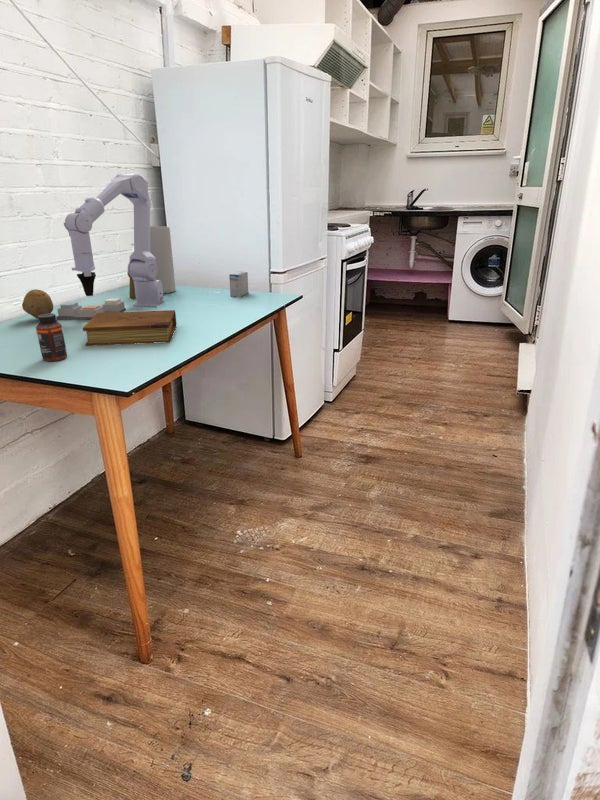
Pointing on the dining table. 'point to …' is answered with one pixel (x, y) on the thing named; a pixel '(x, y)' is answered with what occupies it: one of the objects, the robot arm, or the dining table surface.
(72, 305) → the button slate
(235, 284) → the medicine box
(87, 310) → the board
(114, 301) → the button cream
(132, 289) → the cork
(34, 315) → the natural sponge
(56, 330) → the supplement bottle
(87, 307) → the button terracotta
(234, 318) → the dining table surface
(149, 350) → the dining table surface
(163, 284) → the tall grey block
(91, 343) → the diary
